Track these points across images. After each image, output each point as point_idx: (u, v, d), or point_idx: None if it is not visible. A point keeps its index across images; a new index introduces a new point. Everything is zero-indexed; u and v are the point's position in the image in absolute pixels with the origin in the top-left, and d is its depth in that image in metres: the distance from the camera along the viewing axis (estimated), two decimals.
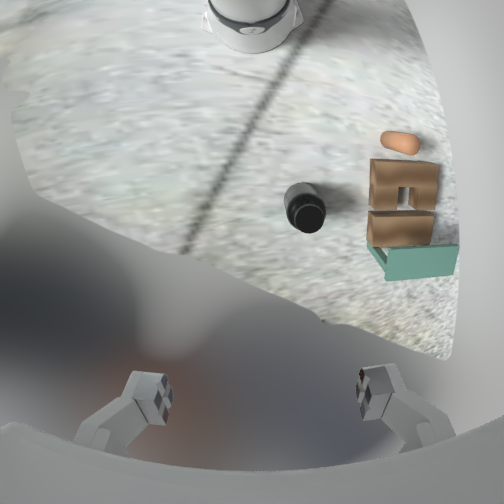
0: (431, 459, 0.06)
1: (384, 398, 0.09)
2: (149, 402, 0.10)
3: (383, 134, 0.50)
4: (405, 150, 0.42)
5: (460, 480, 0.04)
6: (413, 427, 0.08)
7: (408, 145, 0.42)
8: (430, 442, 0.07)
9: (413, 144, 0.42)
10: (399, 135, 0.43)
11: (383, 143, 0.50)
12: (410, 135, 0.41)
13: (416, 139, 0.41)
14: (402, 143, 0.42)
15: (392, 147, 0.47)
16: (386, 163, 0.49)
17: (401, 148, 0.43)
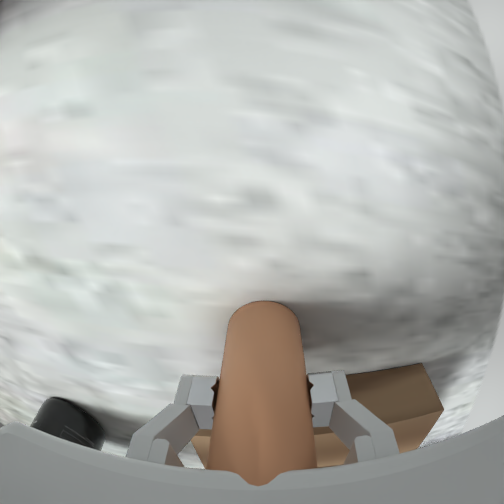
0: (431, 459, 0.06)
1: (327, 406, 0.09)
2: (206, 407, 0.10)
3: (231, 325, 0.14)
4: None
5: (460, 480, 0.04)
6: None
7: None
8: (368, 458, 0.07)
9: None
10: (218, 456, 0.07)
11: None
12: None
13: None
14: None
15: None
16: None
17: None
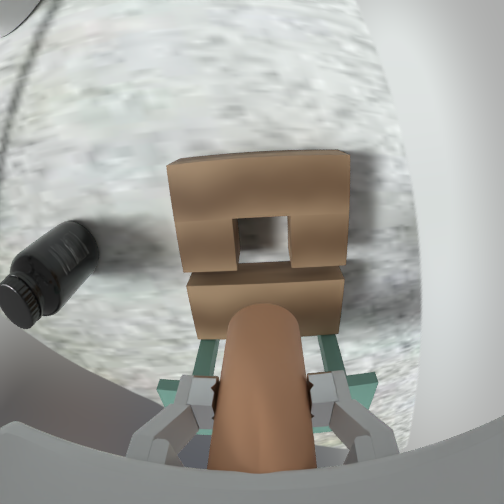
0: (431, 459, 0.06)
1: (327, 406, 0.09)
2: (206, 407, 0.10)
3: (231, 328, 0.14)
4: None
5: (460, 480, 0.04)
6: None
7: None
8: (368, 458, 0.07)
9: None
10: (219, 458, 0.07)
11: None
12: None
13: None
14: None
15: None
16: (190, 166, 0.22)
17: None
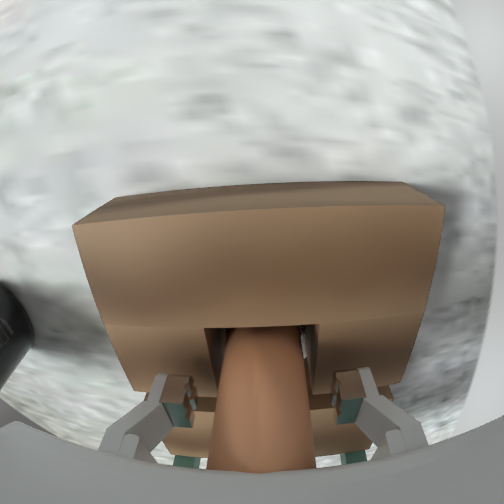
0: (431, 459, 0.06)
1: (355, 403, 0.09)
2: (177, 405, 0.10)
3: None
4: None
5: (460, 480, 0.04)
6: (385, 433, 0.08)
7: None
8: (399, 451, 0.07)
9: None
10: (223, 420, 0.09)
11: None
12: None
13: None
14: None
15: None
16: (112, 227, 0.10)
17: None
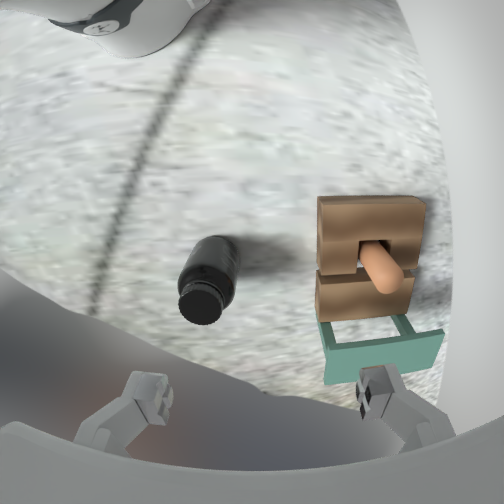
0: (431, 459, 0.06)
1: (384, 398, 0.09)
2: (149, 402, 0.10)
3: None
4: (379, 289, 0.31)
5: (460, 480, 0.04)
6: (413, 427, 0.08)
7: (385, 282, 0.31)
8: (430, 442, 0.07)
9: (393, 279, 0.31)
10: (375, 261, 0.32)
11: None
12: (390, 268, 0.30)
13: (399, 272, 0.30)
14: (376, 280, 0.31)
15: None
16: (338, 206, 0.34)
17: (374, 284, 0.32)
